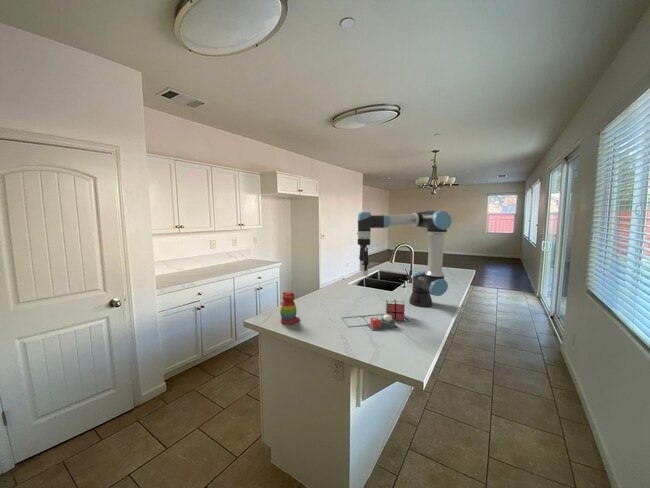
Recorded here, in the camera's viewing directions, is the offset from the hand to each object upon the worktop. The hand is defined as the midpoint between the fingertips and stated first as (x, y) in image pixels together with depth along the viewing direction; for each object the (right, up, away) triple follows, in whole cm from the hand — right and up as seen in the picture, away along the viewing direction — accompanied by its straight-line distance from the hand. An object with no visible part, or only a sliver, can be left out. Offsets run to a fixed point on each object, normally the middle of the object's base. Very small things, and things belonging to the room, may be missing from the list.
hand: (363, 273), depth 160 cm
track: (+7, -27, -2) cm, 28 cm away
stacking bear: (-44, -28, -4) cm, 52 cm away
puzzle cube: (+19, -27, +1) cm, 33 cm away
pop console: (+9, -28, -11) cm, 32 cm away
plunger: (+12, -25, -11) cm, 30 cm away
